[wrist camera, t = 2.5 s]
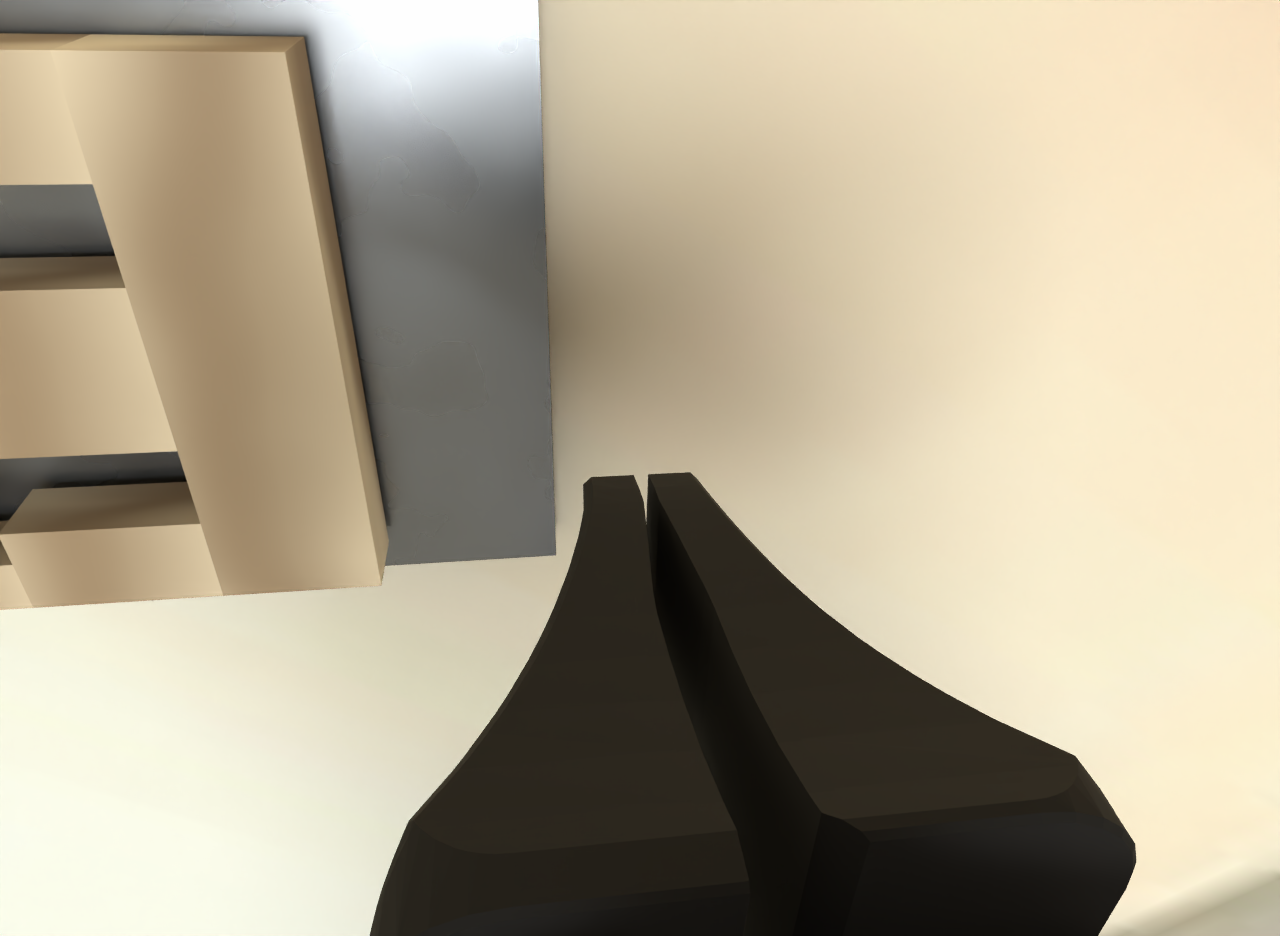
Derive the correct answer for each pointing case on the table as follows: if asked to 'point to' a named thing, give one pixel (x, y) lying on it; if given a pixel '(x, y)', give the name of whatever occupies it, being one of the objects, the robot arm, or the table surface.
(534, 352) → the silver double slider board
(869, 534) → the table surface
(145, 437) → the panel
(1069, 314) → the table surface
